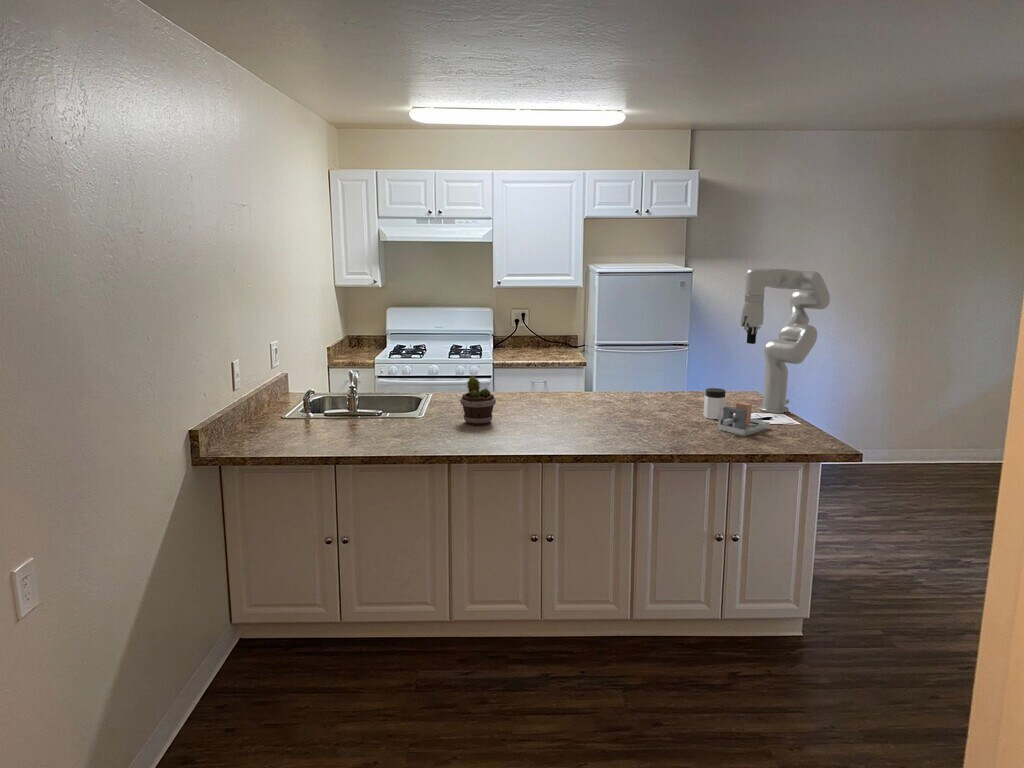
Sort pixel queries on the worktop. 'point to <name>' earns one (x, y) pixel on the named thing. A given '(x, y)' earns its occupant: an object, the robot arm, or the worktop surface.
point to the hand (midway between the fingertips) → (751, 343)
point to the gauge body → (740, 422)
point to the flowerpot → (477, 404)
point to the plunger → (747, 416)
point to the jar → (714, 403)
